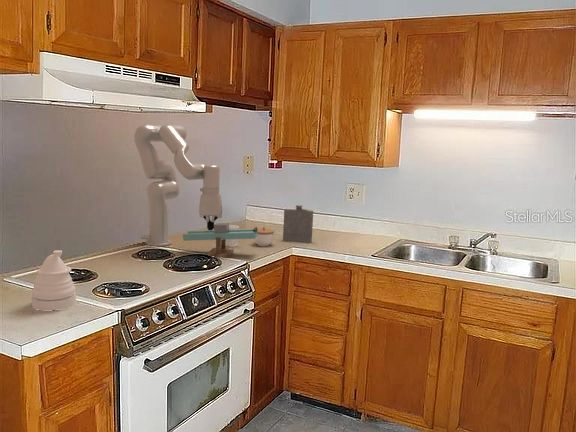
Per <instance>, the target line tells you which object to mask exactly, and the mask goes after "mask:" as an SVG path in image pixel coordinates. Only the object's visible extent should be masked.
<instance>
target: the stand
mask: <svg viewBox="0 0 576 432" xmlns="http://www.w3.org/2000/svg"><path fill="white" fill-rule="evenodd" d="M234 249H235V248H230V247H227V246H226V239H223V240H222V241H221V238H220V237H216V240H215V247H212V249H210V250H209V251H208V252H207V253H206V256H207V255H209V256H214V257H213V258H220V257H223V258H224V259H229V258H230V257H231V256H232V255H233V253H234Z"/></svg>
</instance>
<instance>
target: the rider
mask: <svg viewBox="0 0 576 432" xmlns="http://www.w3.org/2000/svg"><path fill="white" fill-rule="evenodd" d="M229 225H230V223H229V222H219V223H217V222H216V223H214V229H213V230H214V233H229V232H230V231H229Z"/></svg>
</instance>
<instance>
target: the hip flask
mask: <svg viewBox="0 0 576 432" xmlns="http://www.w3.org/2000/svg"><path fill="white" fill-rule="evenodd" d="M313 223H314V210H308V209H306V208H303V205H302V204H301V205H299V204H296V205H295V208H284V210H283V229H282V230H283V233H282V242H292V243H301V244H302V243H303V244H312V241H313Z"/></svg>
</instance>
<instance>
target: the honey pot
mask: <svg viewBox="0 0 576 432" xmlns="http://www.w3.org/2000/svg"><path fill="white" fill-rule="evenodd" d="M52 252H53V254H50V255H47V257H46V258H45V259H44V261H43V262H42V263H41V264H42V265H41V267H40V268H38V269H37V270H36V273H37V276H36V279H35V280H34V282H35V283H34V284H33V287H32V290H31V307H32V306H33V307H34V308H36V309H39V310H56V309H63V308H68V307H71V306H73V305H74V304H75V303H77V299H76V298H77V295H76V289H77V287H76V286H75V285H74V281H73V278H72V276H71V275H70V272H71V271H72V268H71V267H70V266H68V265H66V264H65V262H64V260H63V259H61V256H62V254H63V250H61V249H60V250H57V249H56V250H53V251H52ZM75 305H76V304H75ZM75 305H74V306H75ZM74 306H73V307H74ZM33 307H32V308H33ZM71 308H72V307H71ZM68 309H69V308H68Z"/></svg>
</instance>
